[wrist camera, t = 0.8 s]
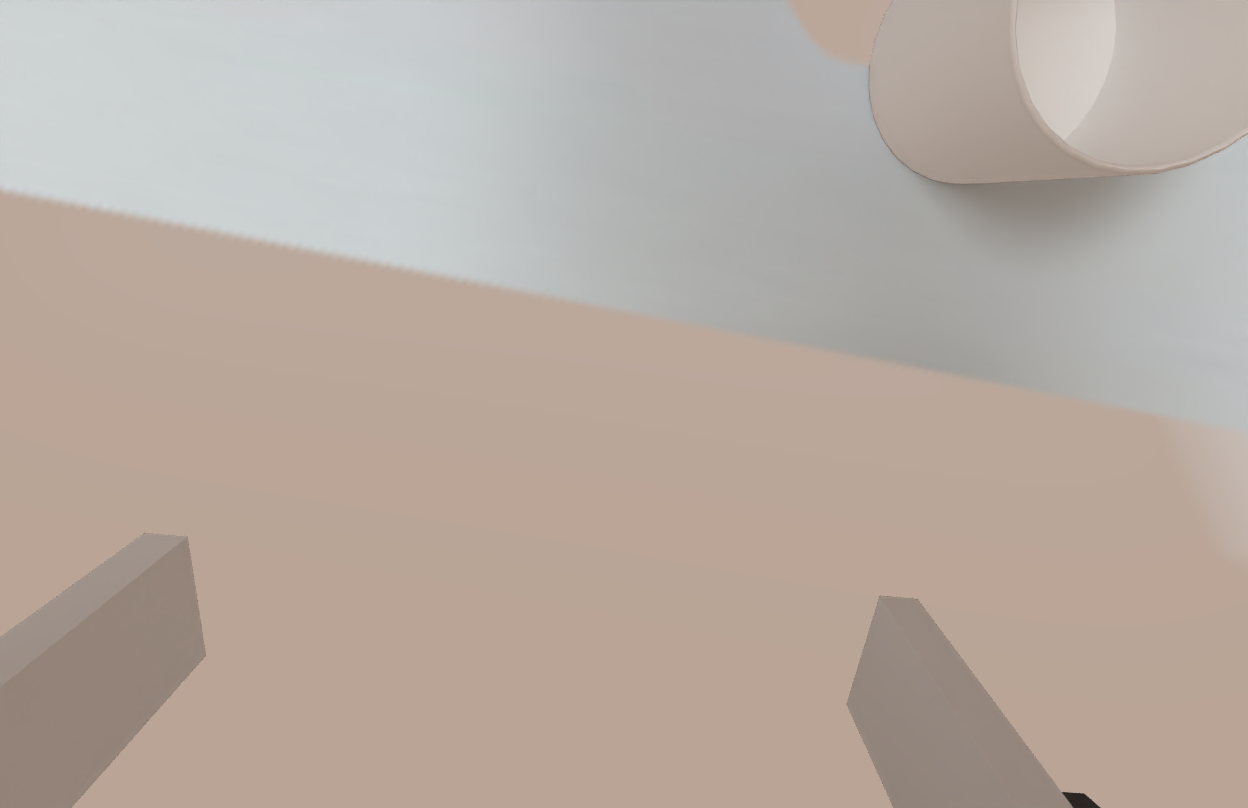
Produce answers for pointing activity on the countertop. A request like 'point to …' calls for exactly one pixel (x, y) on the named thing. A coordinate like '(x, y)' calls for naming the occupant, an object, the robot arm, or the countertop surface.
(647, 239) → the countertop surface
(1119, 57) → the cup
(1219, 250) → the countertop surface
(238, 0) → the countertop surface
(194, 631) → the robot arm
